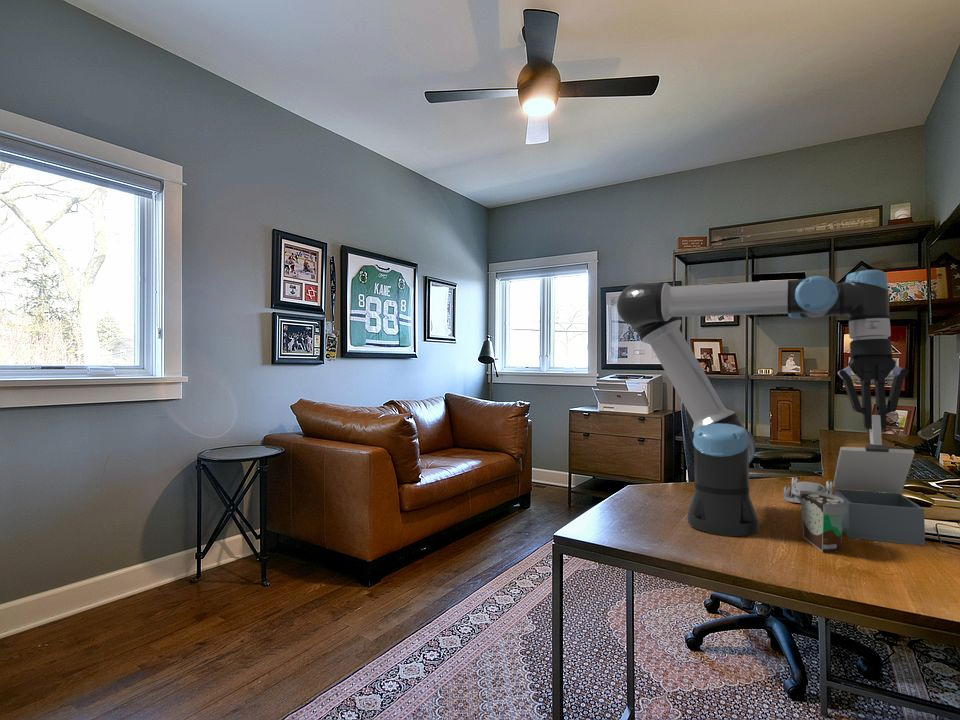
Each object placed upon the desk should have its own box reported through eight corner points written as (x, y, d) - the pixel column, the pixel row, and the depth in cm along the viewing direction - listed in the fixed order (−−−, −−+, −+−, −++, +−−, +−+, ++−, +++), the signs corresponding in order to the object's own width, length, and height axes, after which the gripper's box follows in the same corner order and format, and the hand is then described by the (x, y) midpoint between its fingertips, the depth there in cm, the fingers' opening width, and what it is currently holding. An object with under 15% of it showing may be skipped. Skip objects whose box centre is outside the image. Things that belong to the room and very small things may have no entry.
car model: (834, 492, 152) (834, 475, 152) (831, 511, 133) (830, 492, 133) (791, 487, 159) (790, 471, 159) (781, 505, 139) (781, 486, 139)
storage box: (849, 537, 111) (848, 503, 112) (834, 519, 124) (834, 488, 124) (925, 545, 106) (924, 509, 106) (901, 526, 119) (901, 493, 119)
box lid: (841, 447, 116) (841, 444, 117) (833, 488, 124) (832, 485, 125) (915, 450, 110) (914, 446, 111) (901, 493, 119) (900, 489, 120)
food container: (861, 557, 100) (859, 505, 101) (825, 555, 102) (824, 504, 102) (831, 536, 113) (830, 490, 113) (800, 535, 114) (799, 489, 114)
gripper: (839, 339, 116) (844, 444, 114) (912, 336, 110) (919, 446, 109) (832, 342, 122) (837, 441, 121) (900, 339, 117) (906, 443, 115)
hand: (876, 444), depth 115 cm, fingers closed
